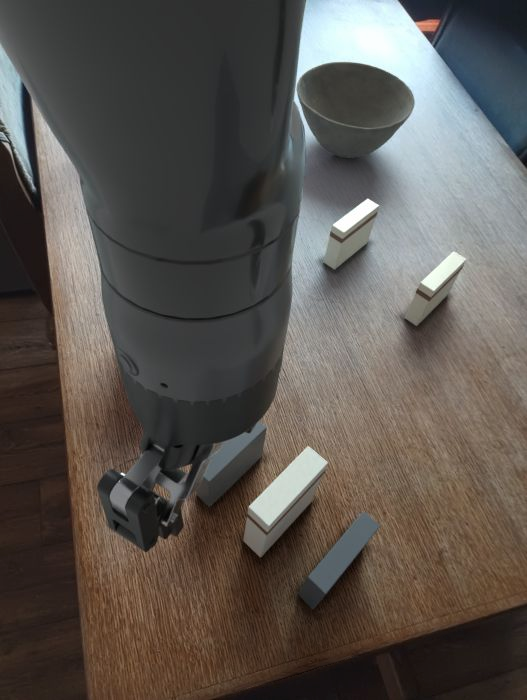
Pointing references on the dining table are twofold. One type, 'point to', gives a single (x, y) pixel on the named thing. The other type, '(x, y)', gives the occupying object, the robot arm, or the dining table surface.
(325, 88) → the bowl
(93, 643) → the dining table surface
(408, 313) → the cream books
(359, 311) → the dining table surface
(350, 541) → the grey parallel blocks
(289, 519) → the white box
